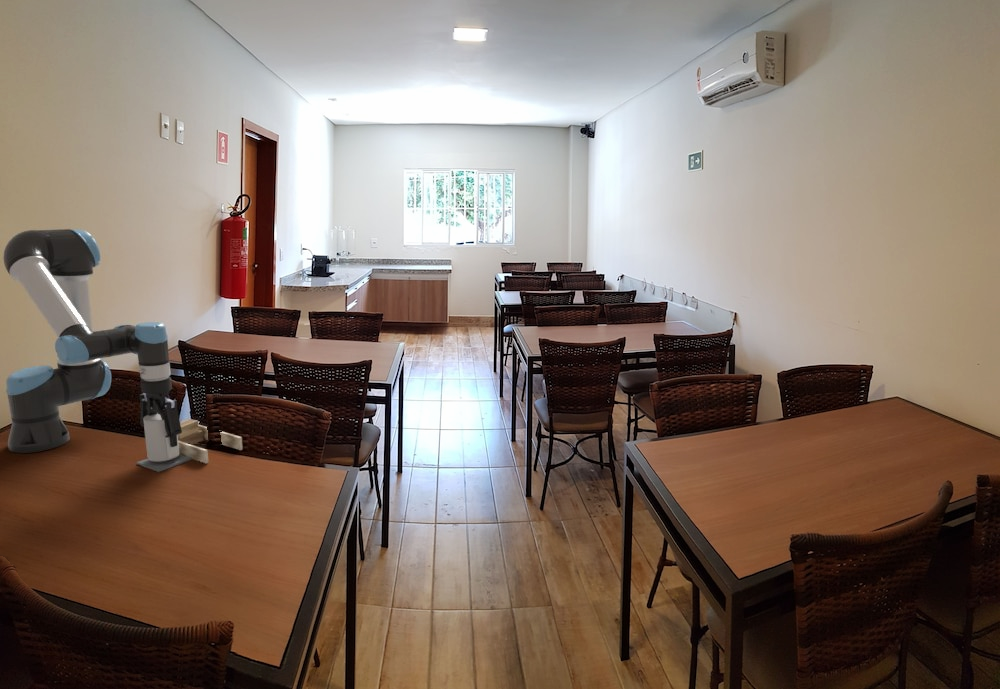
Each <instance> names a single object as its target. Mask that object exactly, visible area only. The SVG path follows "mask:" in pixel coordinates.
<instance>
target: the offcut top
mask: <svg viewBox="0 0 1000 689" xmlns="http://www.w3.org/2000/svg"><path fill="white" fill-rule="evenodd" d="M198 424H199V420H196V419H191V418H187V419H184V420H182V421H180V425H181V430H182V433H180V434H178V438H180V439H181V438H184V437H186V436H188V435H191V434H193V433H196V432H198V431H199V427H198Z"/></svg>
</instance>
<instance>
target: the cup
mask: <svg viewBox="0 0 1000 689" xmlns="http://www.w3.org/2000/svg"><path fill="white" fill-rule="evenodd" d="M143 421H144V426H143V428H144V438H145V448H146V456H147V458H146V459H148V460H150V461H156V462H158V461H166V460H170V459H173V458H176V457H177V456H178V455H179V444H178V435H177V448H178V455H177V456H175V457H172V458H168V456H167V446H166V437H165V436H167V432H166V430H165V423H164V420H162V418H161V416H160V415H159V414H158V413H157V414H154V415H151V416H148V415H147V416H145V417H144V418H143Z"/></svg>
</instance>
